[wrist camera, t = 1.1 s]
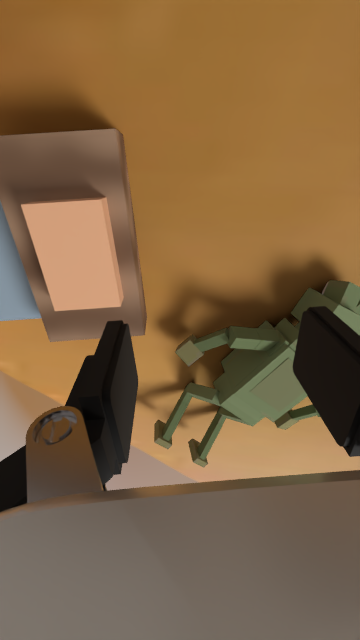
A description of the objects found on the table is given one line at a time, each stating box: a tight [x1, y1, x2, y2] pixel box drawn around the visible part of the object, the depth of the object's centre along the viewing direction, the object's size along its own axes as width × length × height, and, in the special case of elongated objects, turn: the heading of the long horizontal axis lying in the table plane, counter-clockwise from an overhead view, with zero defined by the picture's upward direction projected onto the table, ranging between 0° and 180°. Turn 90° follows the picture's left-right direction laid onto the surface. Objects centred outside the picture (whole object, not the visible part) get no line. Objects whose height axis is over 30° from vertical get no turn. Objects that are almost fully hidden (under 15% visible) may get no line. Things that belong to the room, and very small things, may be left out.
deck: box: [0, 129, 147, 342], centre depth 26 cm, size 18×10×4 cm, turn 3°
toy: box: [154, 280, 360, 467], centre depth 34 cm, size 21×8×30 cm
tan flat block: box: [21, 197, 124, 311], centre depth 23 cm, size 9×6×2 cm, turn 3°
